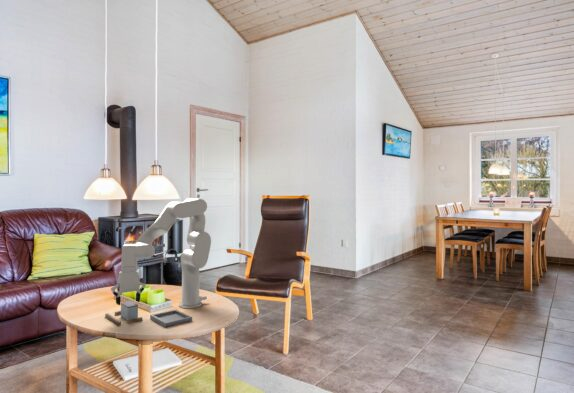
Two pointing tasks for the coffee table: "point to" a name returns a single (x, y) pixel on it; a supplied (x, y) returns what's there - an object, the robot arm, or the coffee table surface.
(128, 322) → the set of brown sticks
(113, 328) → the coffee table surface
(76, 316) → the coffee table surface
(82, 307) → the coffee table surface
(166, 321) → the tray
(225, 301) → the coffee table surface
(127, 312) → the grey rectangular block
